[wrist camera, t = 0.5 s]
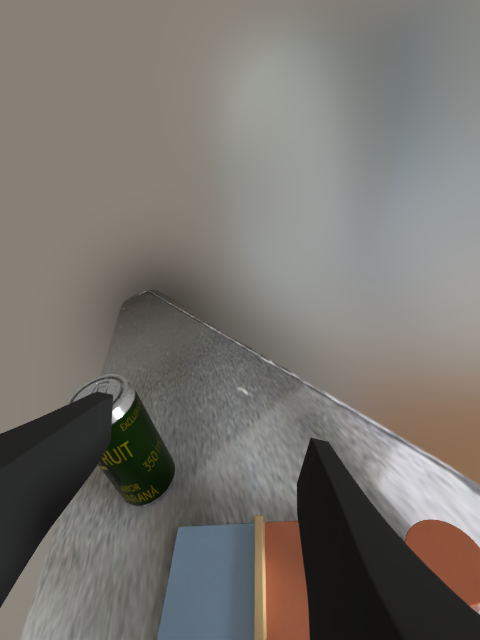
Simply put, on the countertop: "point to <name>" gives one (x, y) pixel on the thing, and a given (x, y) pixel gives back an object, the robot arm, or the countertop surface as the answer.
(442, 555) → the orange cylinder
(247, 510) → the countertop surface
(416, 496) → the countertop surface
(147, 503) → the green drink can
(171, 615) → the board
